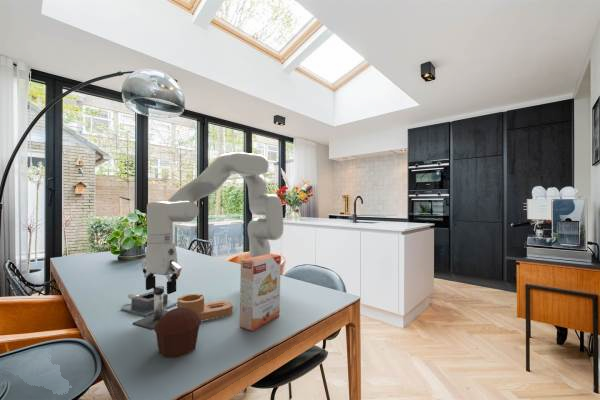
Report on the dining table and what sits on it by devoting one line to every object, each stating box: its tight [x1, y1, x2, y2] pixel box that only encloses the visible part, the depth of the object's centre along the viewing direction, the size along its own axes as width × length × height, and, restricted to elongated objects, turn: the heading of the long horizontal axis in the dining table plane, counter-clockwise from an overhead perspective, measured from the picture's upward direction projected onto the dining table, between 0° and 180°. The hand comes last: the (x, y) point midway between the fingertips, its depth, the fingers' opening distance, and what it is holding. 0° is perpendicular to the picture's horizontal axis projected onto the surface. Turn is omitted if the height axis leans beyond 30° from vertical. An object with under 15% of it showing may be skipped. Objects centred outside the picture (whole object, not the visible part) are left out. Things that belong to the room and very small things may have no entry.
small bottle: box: [152, 285, 165, 320], centre depth 87 cm, size 3×3×10 cm
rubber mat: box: [132, 310, 170, 330], centre depth 87 cm, size 9×11×1 cm
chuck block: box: [120, 290, 177, 317], centre depth 98 cm, size 18×12×4 cm, turn 66°
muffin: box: [153, 307, 202, 359], centre depth 70 cm, size 12×11×10 cm
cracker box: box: [238, 253, 282, 332], centre depth 87 cm, size 14×6×21 cm, turn 148°
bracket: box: [176, 293, 233, 321], centre depth 91 cm, size 18×8×7 cm, turn 121°
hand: (160, 290), depth 88 cm, fingers open, 9 cm apart
